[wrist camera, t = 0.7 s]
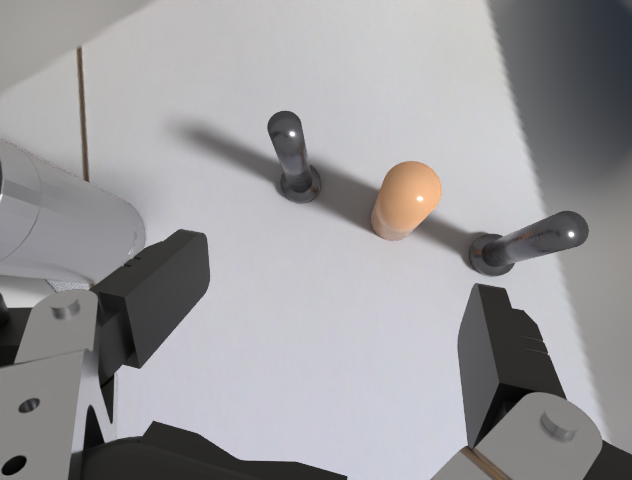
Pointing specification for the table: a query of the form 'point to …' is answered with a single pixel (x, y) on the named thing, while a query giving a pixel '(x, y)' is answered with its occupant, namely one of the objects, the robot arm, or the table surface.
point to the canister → (405, 200)
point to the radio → (23, 291)
